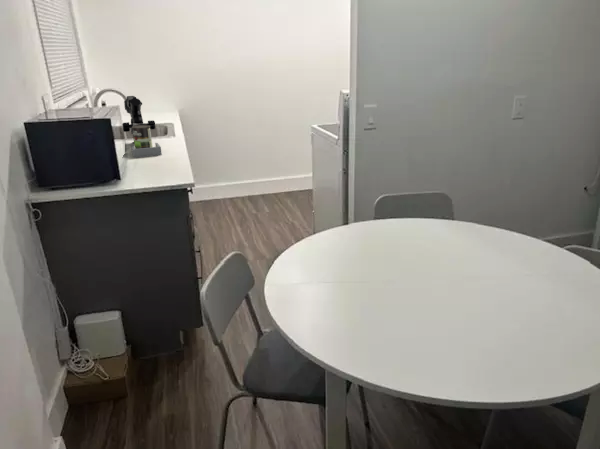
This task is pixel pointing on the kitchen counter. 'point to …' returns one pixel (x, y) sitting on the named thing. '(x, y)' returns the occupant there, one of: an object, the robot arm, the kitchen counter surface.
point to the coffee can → (142, 136)
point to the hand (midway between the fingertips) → (141, 137)
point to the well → (146, 151)
